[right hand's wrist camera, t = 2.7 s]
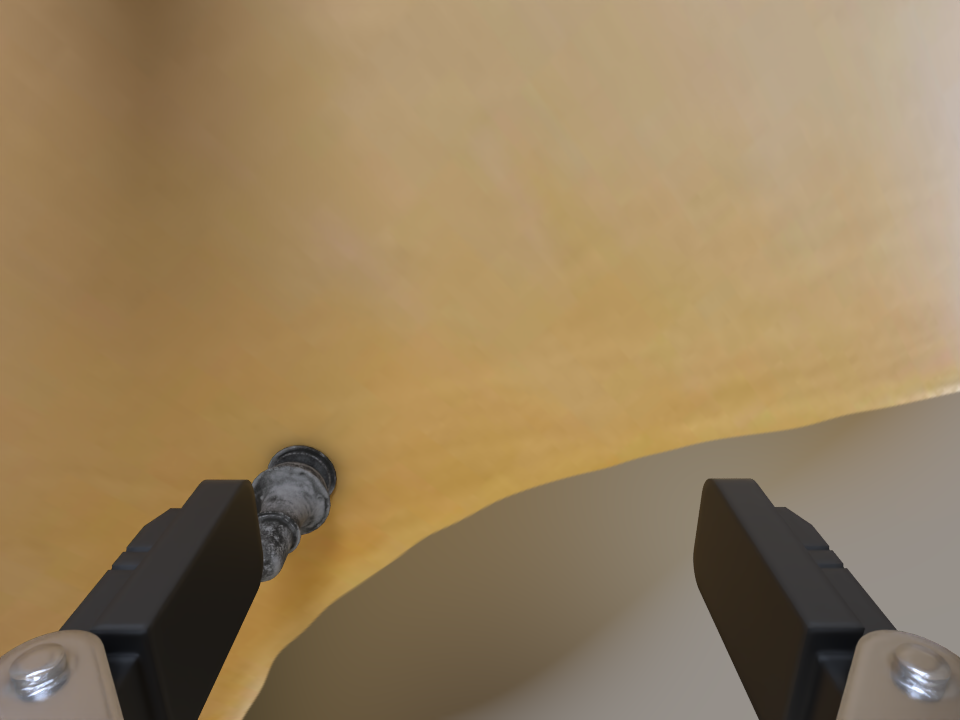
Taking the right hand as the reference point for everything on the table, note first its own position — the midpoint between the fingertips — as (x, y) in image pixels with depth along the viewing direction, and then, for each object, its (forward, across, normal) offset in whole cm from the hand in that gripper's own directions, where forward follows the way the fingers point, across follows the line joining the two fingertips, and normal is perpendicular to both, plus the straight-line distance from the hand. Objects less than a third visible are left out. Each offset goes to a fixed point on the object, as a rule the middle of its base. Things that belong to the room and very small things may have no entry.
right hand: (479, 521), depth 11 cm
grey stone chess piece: (+34, -14, -19) cm, 41 cm away
